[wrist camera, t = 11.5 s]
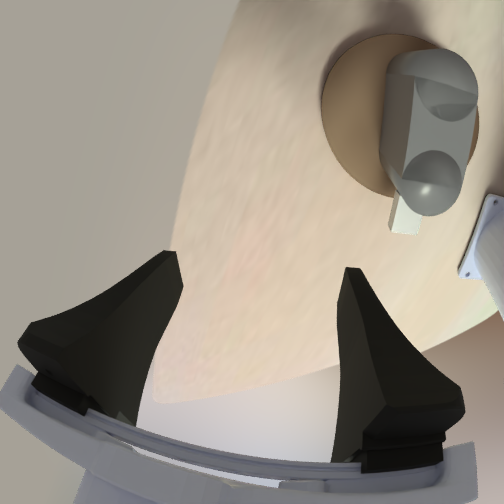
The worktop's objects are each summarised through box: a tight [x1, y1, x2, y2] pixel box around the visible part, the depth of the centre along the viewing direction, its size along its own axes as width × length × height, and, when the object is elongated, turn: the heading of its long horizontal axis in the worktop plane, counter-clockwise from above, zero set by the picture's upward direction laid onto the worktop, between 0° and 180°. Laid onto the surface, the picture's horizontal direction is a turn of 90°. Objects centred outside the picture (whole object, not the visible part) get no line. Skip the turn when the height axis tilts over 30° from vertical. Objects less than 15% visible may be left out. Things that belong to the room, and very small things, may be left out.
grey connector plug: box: [379, 49, 478, 235], centre depth 13 cm, size 11×4×5 cm, turn 1°
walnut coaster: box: [321, 34, 479, 198], centre depth 15 cm, size 11×11×1 cm
